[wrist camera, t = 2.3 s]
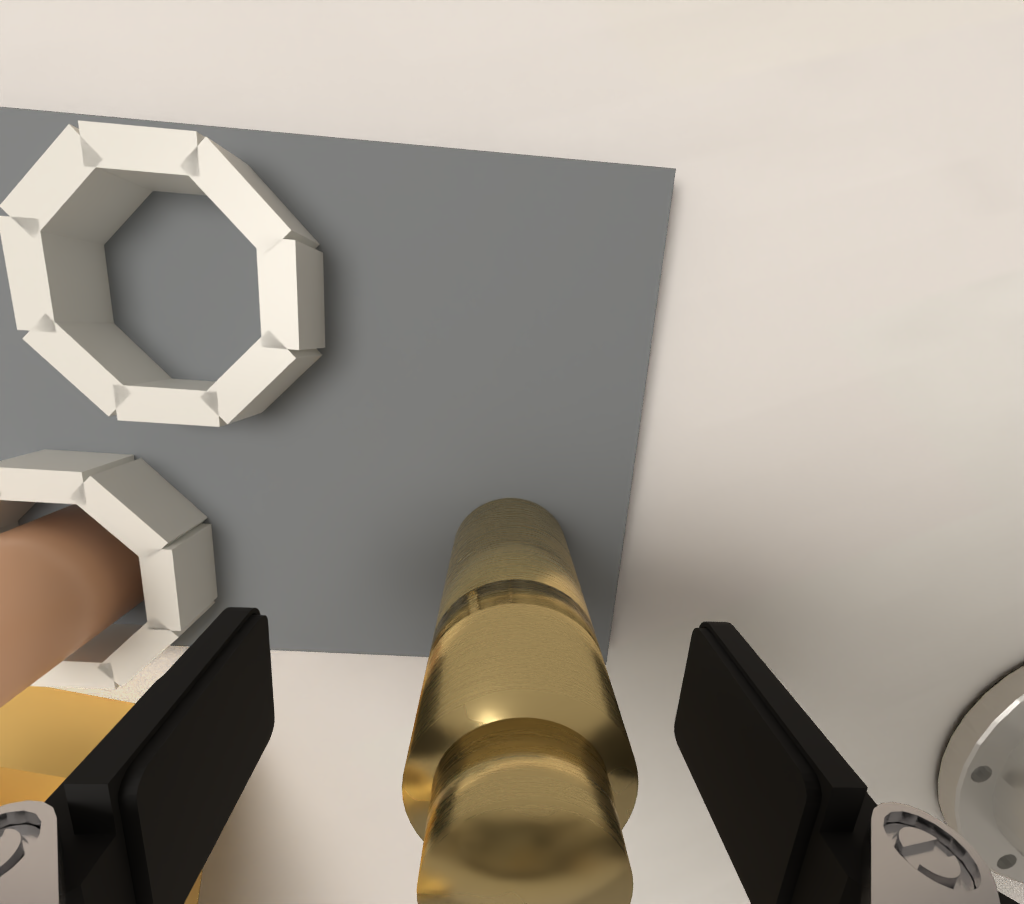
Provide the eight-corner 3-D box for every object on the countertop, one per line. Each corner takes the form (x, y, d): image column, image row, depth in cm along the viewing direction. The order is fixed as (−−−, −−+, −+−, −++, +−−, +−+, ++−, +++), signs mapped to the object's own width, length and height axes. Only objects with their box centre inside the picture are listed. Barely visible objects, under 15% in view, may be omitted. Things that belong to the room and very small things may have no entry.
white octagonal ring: (321, 167, 14) (291, 139, 12) (326, 419, 15) (301, 432, 13) (54, 143, 13) (-22, 111, 11) (92, 404, 15) (32, 415, 13)
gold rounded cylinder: (571, 501, 16) (691, 783, 6) (560, 603, 17) (647, 994, 7) (455, 494, 16) (380, 772, 6) (451, 598, 17) (379, 989, 7)
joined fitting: (205, 459, 16) (31, 533, 10) (222, 652, 17) (83, 813, 12) (-29, 444, 15) (-353, 513, 9) (13, 643, 17) (-238, 803, 11)
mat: (661, 181, 15) (675, 168, 14) (599, 644, 19) (606, 664, 18) (-63, 116, 14) (-114, 96, 13) (35, 618, 18) (3, 637, 17)
